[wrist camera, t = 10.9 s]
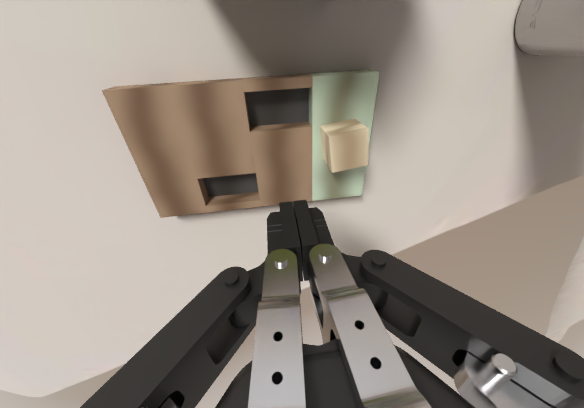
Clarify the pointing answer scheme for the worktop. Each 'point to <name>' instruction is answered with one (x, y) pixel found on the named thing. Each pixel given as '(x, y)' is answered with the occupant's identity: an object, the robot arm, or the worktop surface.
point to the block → (345, 145)
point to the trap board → (241, 138)
